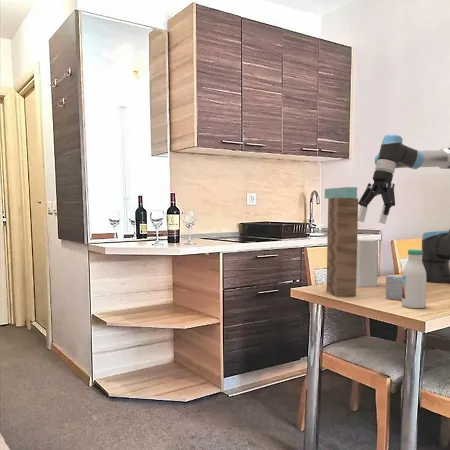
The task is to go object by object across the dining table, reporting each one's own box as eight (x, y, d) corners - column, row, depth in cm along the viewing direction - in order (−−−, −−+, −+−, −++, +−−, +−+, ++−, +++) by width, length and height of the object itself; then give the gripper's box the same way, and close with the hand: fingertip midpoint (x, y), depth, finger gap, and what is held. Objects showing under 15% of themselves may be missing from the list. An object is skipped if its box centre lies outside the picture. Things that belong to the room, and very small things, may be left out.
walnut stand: (326, 291, 177) (328, 198, 175) (345, 291, 178) (347, 198, 176) (336, 296, 167) (338, 197, 165) (355, 296, 168) (358, 198, 166)
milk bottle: (429, 306, 152) (431, 250, 151) (418, 310, 147) (420, 251, 146) (408, 302, 158) (410, 248, 157) (397, 305, 153) (398, 249, 152)
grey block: (349, 282, 197) (350, 238, 196) (366, 282, 198) (367, 238, 197) (359, 286, 187) (360, 240, 186) (377, 286, 188) (378, 240, 187)
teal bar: (324, 198, 184) (324, 188, 184) (333, 198, 184) (333, 189, 184) (346, 197, 162) (347, 187, 162) (356, 198, 163) (357, 187, 163)
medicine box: (409, 299, 164) (410, 276, 163) (407, 301, 160) (408, 278, 159) (388, 296, 168) (388, 274, 167) (385, 298, 164) (386, 276, 164)
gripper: (358, 171, 187) (345, 218, 186) (398, 167, 164) (383, 221, 163) (371, 176, 190) (359, 223, 189) (413, 173, 166) (399, 226, 165)
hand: (370, 222), depth 176 cm, fingers open, 13 cm apart
